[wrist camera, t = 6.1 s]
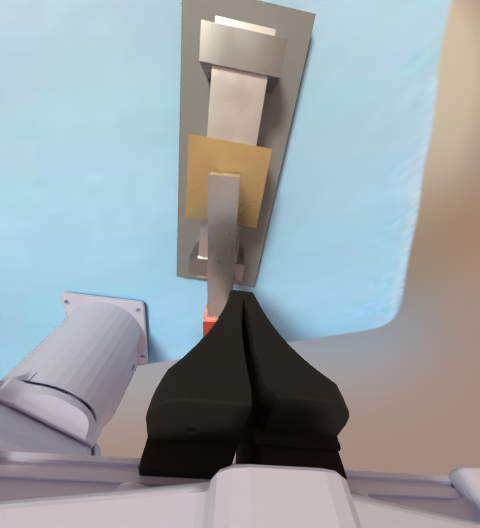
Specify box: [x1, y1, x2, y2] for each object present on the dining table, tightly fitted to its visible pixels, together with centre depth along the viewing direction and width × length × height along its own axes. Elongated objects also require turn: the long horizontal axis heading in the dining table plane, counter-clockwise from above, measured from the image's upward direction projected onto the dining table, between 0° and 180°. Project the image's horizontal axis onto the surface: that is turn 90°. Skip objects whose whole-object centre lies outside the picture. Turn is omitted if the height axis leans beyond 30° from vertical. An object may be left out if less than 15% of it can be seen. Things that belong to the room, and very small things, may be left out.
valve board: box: [177, 0, 316, 286], centre depth 16 cm, size 18×7×1 cm, turn 171°
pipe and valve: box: [186, 16, 288, 281], centre depth 14 cm, size 14×4×4 cm, turn 171°
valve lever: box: [203, 172, 240, 337], centre depth 13 cm, size 12×2×2 cm, turn 176°
